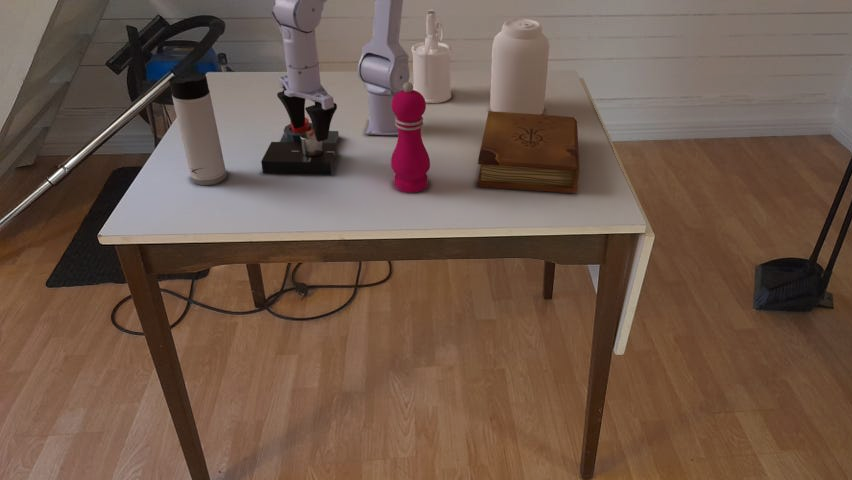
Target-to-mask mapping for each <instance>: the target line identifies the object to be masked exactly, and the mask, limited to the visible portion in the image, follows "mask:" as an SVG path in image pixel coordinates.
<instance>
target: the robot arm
mask: <svg viewBox="0 0 852 480" xmlns="http://www.w3.org/2000/svg"><path fill="white" fill-rule="evenodd" d="M327 1H328V0H274V2H273V7H272V10H271V11H270V14H271V17H272V19H273V21H274V22H275V23H276V24H277V26H278V30H279V31H278V32H279V34H280V35H281V36H282V44H283V53H284V59H285V60H284V61H285V66H286V67H285V68H286V75H282V76H279V77H278V83H279V88H280V89H282V91H278V92H277V93H276V96H277V98H278V99H279V101H280V102H281V103H282V105H283V107H284V108H285V110H286V112H287V115H288V117H289V120H290V121H291V122H290V124H291V123H292V125H293V127H294V128H295V129H297V128H300V127H303V126H304V125H305V118H306V113H307V115H308V117H309V118H310V121H311V123H312V124H313V128H314V133H315V137H316V140H317V141H318V142H320V141H323V140H326V139H328V134H329V131H330V128H331V123H332V119H333V117H334V114H335V113H336V111H337V109H338V105H337V103H335V102H334V96H332V95H331V94H329V92H328V91H327V90H326V89H325V88H324V86H323V85H322V83H321V73H320V63H319V55H318V54H319V53H318V45H317V33H316V28H317V27H318V26H319V25H320V23H321V19H322V13H323V11H324V8H325V3H326V2H327ZM403 4H404V0H375V1H374V12H373V13H374V14H373V24H372V37H371V40H370V41H368V42H367V43H366V44H364V45H363V46H362V48H361V55H360V58H359V61H358V63H357V75H358V78H359V80H360V81H361V82H362V83H363V85H364V88H366V92H367V93H366V94H367V106H368V108H367V109H368V124H367V127H366V130H365V134H366V135H367V136H398V128H397V127H396V125H395V122H396V121H395V117H396V115H395V114H394V113H393V111H392V99H393V97H394V96H395V95H396V94H397V93H398V92H400V91H402V90H403V85H404V84H405V83H406V82H410V76H411V75H410V74H411V73H410V66H409V57H410V56H409V54H408V52H407V51H406V50H405V49H404V47H403V46H402V45H401V43H400V35H401V24H402V14H403ZM306 100H309V101H311V102H313V103H314V104H313V105H309V106H306ZM305 106H306V107H305ZM305 111H306V113H305Z"/></svg>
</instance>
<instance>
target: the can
mask: <svg viewBox="0 0 852 480" xmlns="http://www.w3.org/2000/svg"><path fill="white" fill-rule="evenodd" d="M491 48H492V49H491V71H490V73H491V74H490V93H489V95H490V97H489V108H490V111H494V112H509V113H525V114H540V115H543V113H544V111H545V101H546V90H547V78H548V68H549V67H548V65H549V56H550V42H549V39H548V37H547V36H546V35H545V34H544V33H543V27H542V24H541V23H540V22H539V21H536V20H533V19H529V18H513V19H507V20H505V21H504V22H503V24H502V26H501V30H500V31H499V32H498V33H497V34H496V35H494V39H493V41H492V47H491Z"/></svg>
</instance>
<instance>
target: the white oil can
mask: <svg viewBox="0 0 852 480" xmlns="http://www.w3.org/2000/svg"><path fill="white" fill-rule="evenodd" d="M425 19H426V20H425V23H426V26H425V27H426V28H425V29H426V30H425V32H426V35H427V36H425V37H424V41H422V42H418V43H415V44H414V45H412V46H411V48H410V49H411V50H410V51H411V52H412V71H413V72H412V77H413V78H412V79H413V90H415V91H417V92H419V93H420V94H421V95H422V96H423V97H424V99H425V103H426V104H440V103H444V102H446V101H448V100H450V99H451V98H452V96H453V95H452V92H451V62H452V61H451V56H452V55H451V53H452V51H453V49H452V46H451V45H449V44H447V43H445V42H442V41H443V39H444V28H443V24H442V22H440V21H436V11H435V10H434V9H433V8H432V9H428V10H427V11H426V17H425ZM439 27H440V37H439V31H438V29H439Z"/></svg>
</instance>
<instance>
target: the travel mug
mask: <svg viewBox="0 0 852 480" xmlns="http://www.w3.org/2000/svg"><path fill="white" fill-rule="evenodd" d="M168 83H169V87H170V91H171V98H172V102H173V107H174V111H175V114H176V120H177V123H178V127H179V132H180V136H181V141H182V144H183V150H184V153H185V158H186V162H187V165H188V170H189V175H190V178H191V181H192V182H193V183H194V184H196V185H200V186H212V185H216V184H219V183H221V182H222V181H224V180H225V179H226V177H227V171H226V165H225V161H224V156H223V155H224V154H223V151H222V146H221V140H220V136H219V131H218V126H217V120H216V115H215V111H214V106H213V101H212V96H211V92H210V91H211V90H210V87H209V84H208V78H207V75H206V74H202V73H190V74H188V75H180V74H179V75H176V76H175V75H174V76H172V77H170V78H169V79H168Z"/></svg>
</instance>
